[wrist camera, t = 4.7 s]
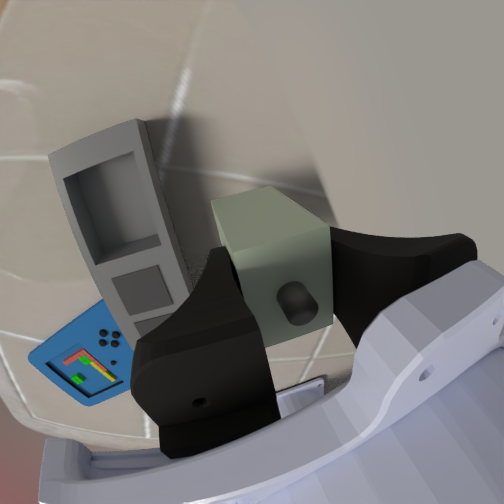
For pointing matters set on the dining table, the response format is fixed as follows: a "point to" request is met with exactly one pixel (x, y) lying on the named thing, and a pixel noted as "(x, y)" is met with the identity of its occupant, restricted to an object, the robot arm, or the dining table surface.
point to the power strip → (123, 226)
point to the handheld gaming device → (87, 357)
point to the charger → (278, 261)
